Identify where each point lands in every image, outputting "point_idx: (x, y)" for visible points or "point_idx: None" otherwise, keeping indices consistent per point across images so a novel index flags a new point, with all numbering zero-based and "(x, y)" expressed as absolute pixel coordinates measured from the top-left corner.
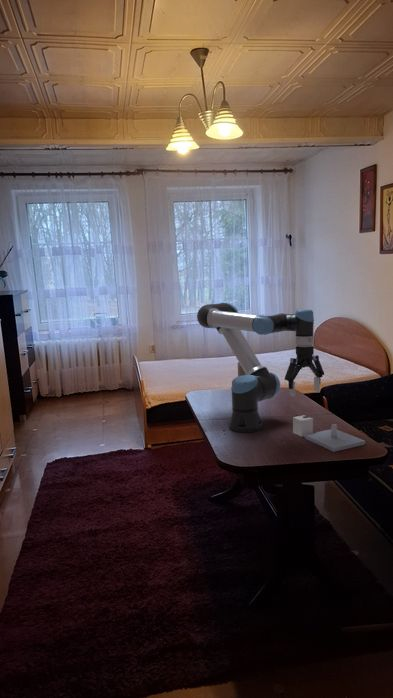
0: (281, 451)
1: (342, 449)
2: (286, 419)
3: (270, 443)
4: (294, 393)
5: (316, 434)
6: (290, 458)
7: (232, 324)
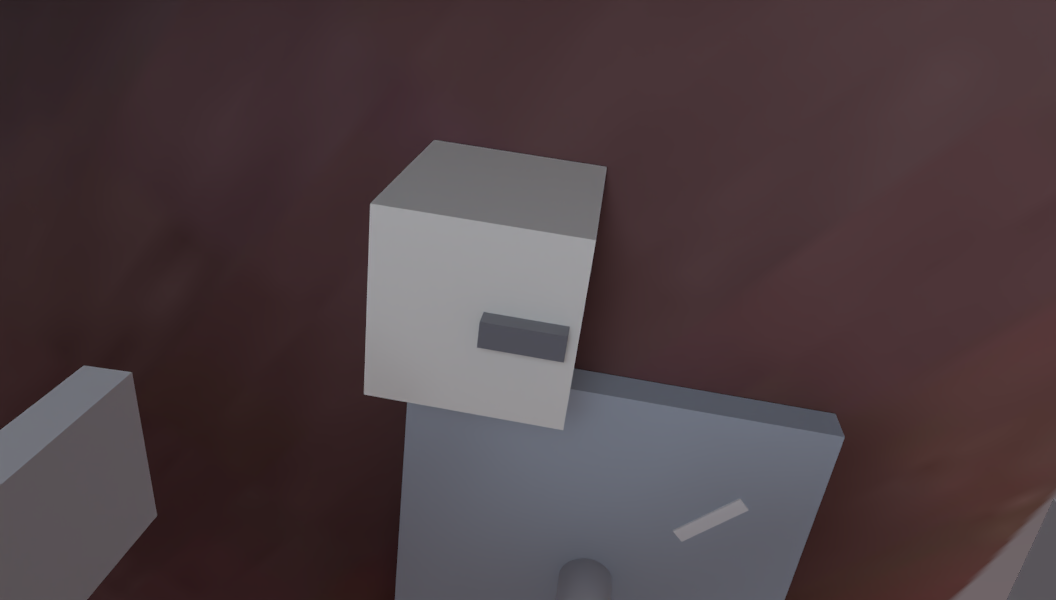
0: None
1: None
2: None
3: (33, 228)
4: (78, 576)
5: (519, 432)
6: None
7: None
